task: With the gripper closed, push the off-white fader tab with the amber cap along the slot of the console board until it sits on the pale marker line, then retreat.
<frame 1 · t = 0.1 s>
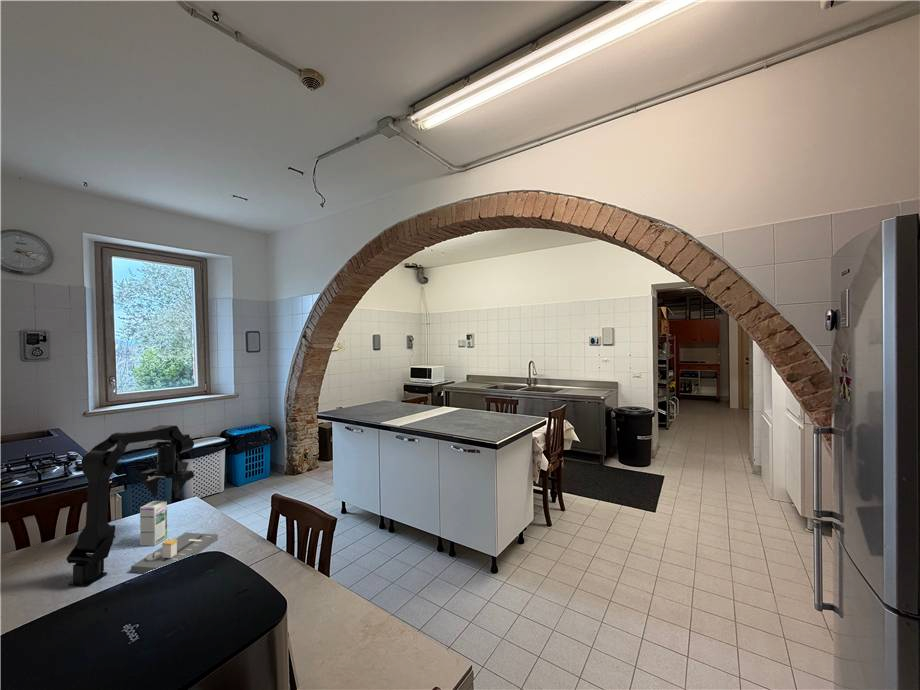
hand: (166, 497, 146), 15 cm above the table, fingers open, 9 cm apart
console: (177, 554, 133), on the table
syrup box: (153, 542, 141), on the table
fader: (169, 548, 128), point 5 cm above the table, slide at 0.0 cm
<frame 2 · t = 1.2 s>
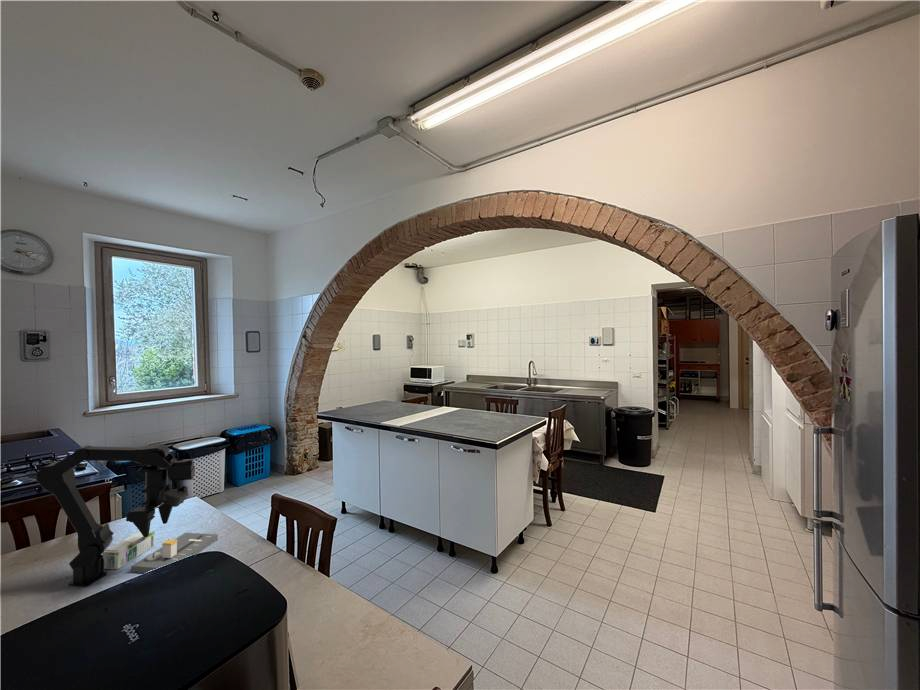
hand: (155, 530, 125), 12 cm above the table, fingers open, 9 cm apart
syrup box: (147, 538, 138), point 3 cm above the table
everything else where it was.
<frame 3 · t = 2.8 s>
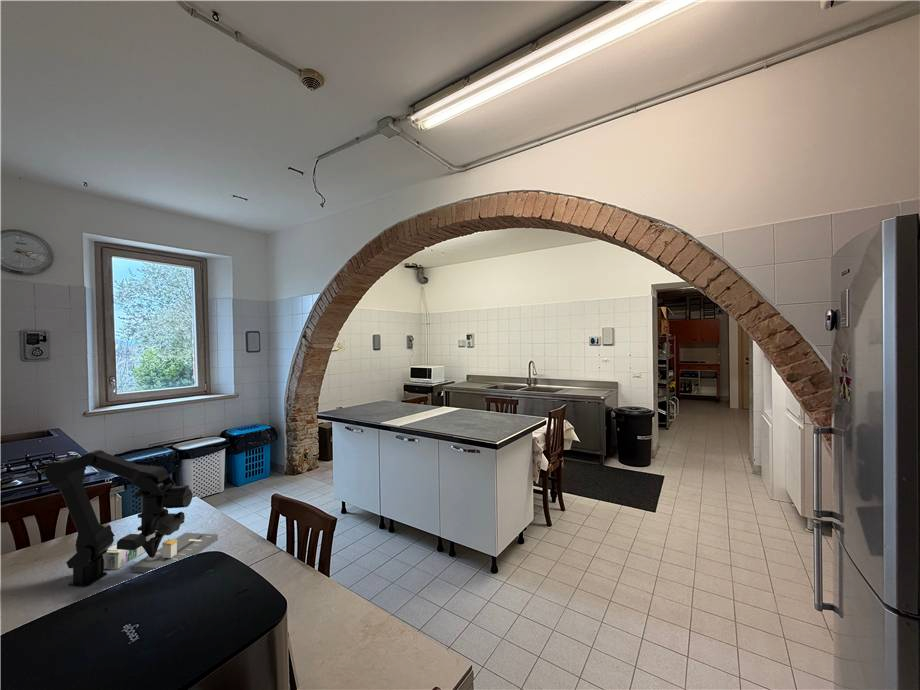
hand: (152, 556, 121), 6 cm above the table, fingers closed
nothing on the table moved.
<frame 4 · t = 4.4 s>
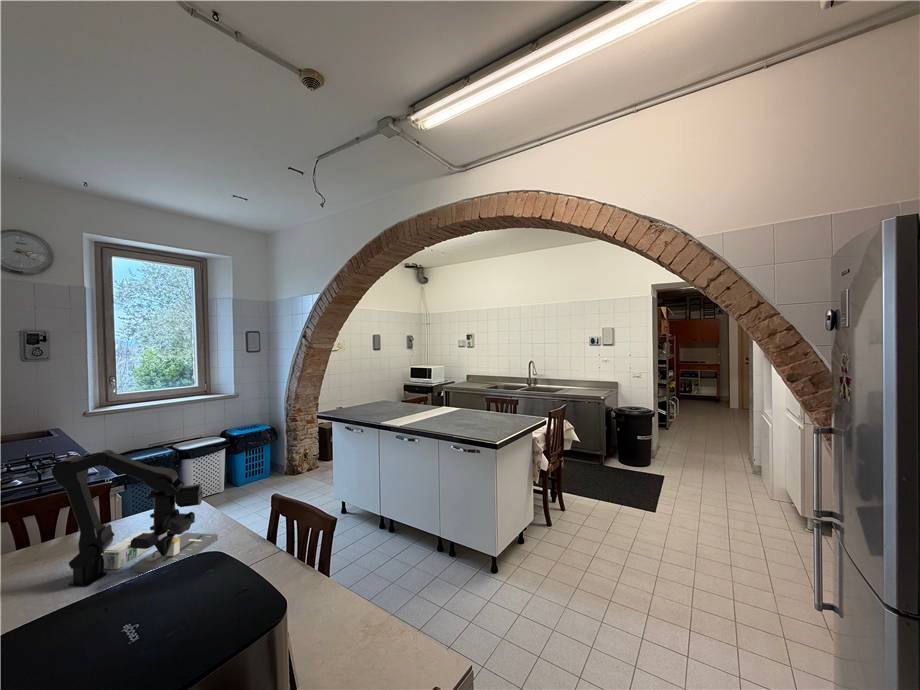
hand: (164, 555, 126), 4 cm above the table, fingers closed
fader: (172, 546, 129), point 5 cm above the table, slide at 1.2 cm, touching gripper
everything else where it was.
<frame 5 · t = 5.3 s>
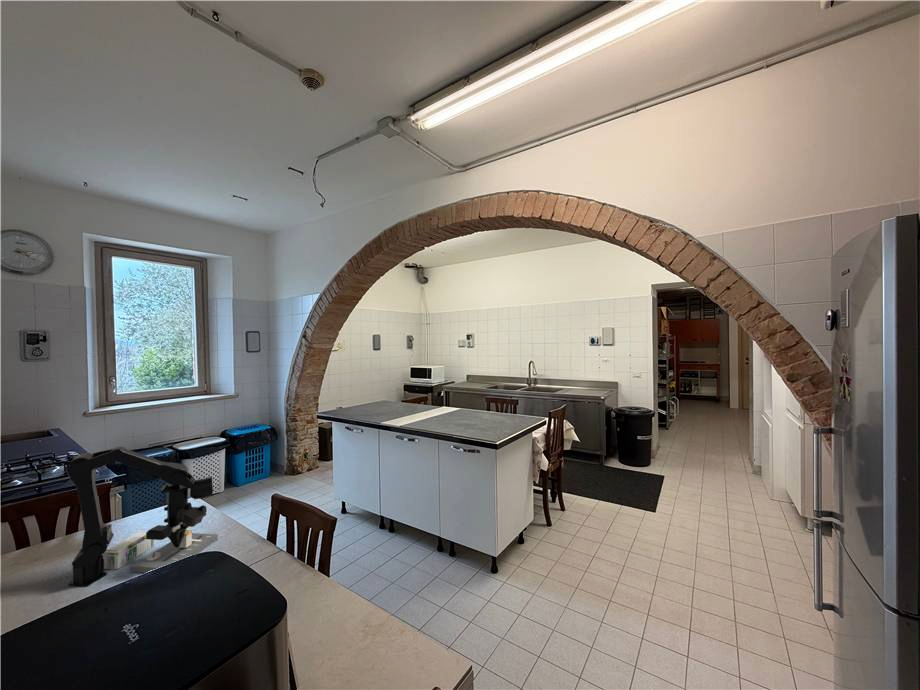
hand: (177, 546, 131), 4 cm above the table, fingers closed
fader: (185, 539, 134), point 5 cm above the table, slide at 6.4 cm, touching gripper
everything else where it was.
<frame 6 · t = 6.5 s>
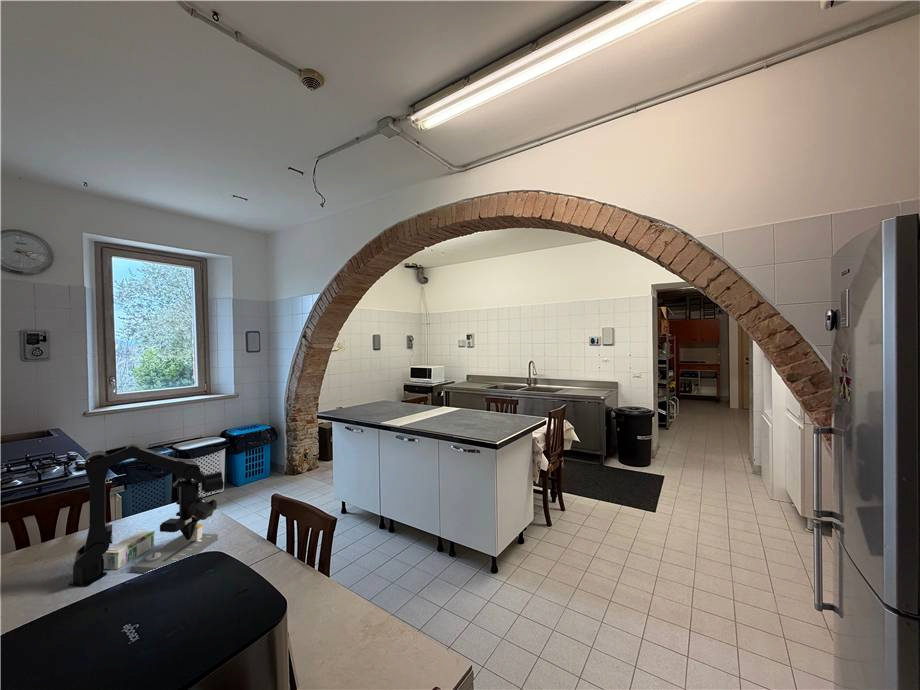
hand: (188, 539, 136), 4 cm above the table, fingers closed
fader: (196, 532, 139), point 5 cm above the table, slide at 11.4 cm, touching gripper
everything else where it was.
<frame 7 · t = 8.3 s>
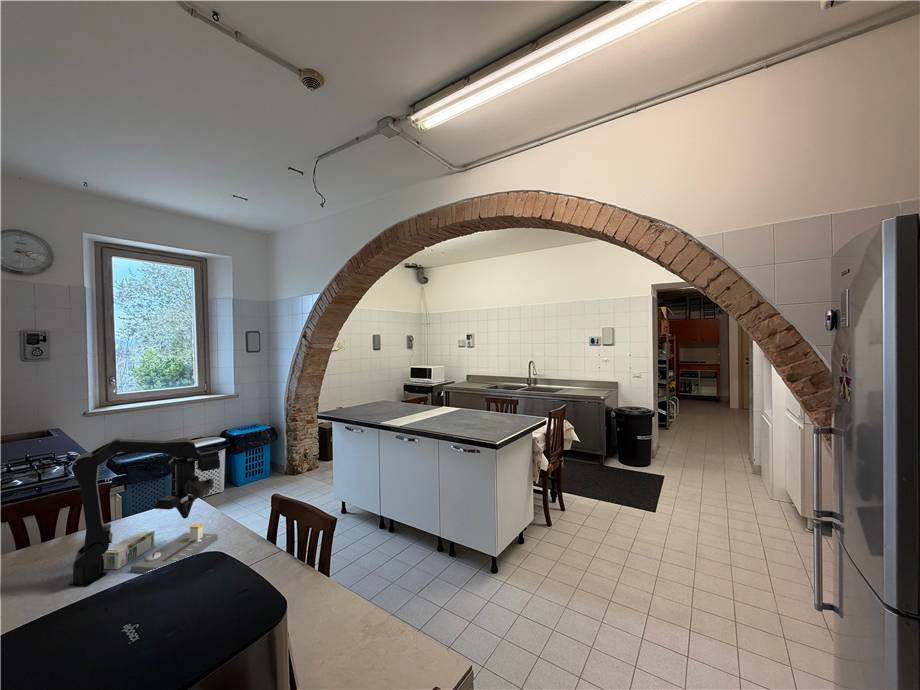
hand: (185, 518, 134), 12 cm above the table, fingers closed
fader: (196, 531, 139), point 5 cm above the table, slide at 11.7 cm
everything else where it was.
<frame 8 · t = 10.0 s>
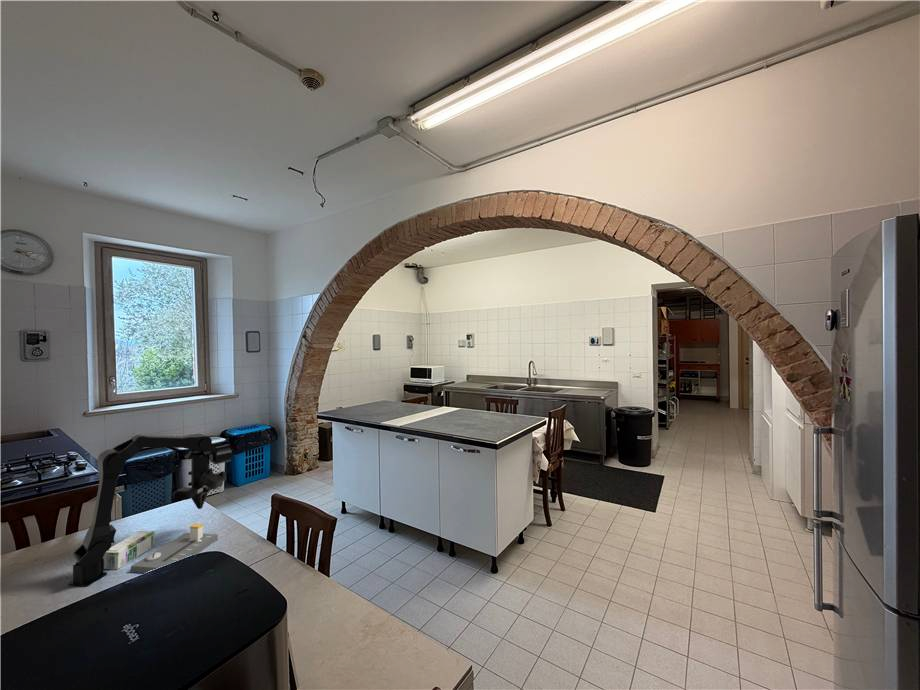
hand: (200, 508, 143), 12 cm above the table, fingers closed
nothing on the table moved.
at the end: fader slide at 11.7 cm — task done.
